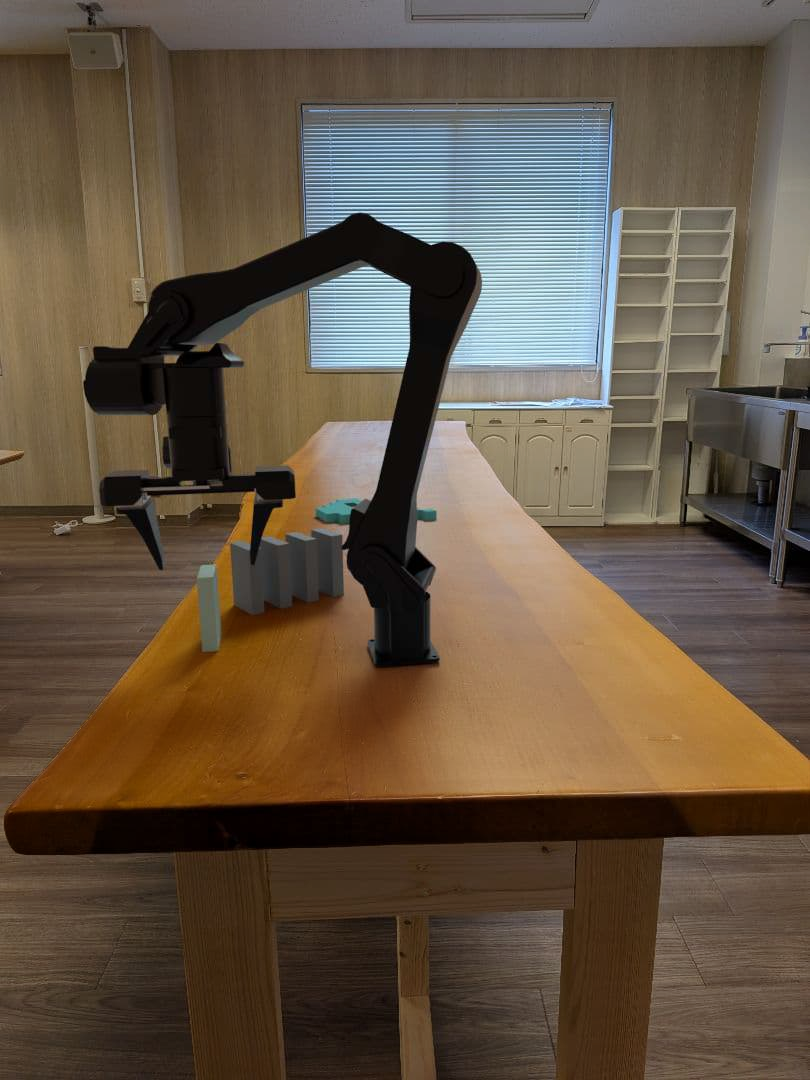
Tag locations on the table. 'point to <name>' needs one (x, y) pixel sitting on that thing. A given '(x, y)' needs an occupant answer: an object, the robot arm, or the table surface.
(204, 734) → the table surface
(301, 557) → the domino
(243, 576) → the domino
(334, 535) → the domino
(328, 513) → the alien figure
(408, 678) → the table surface
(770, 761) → the table surface
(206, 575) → the sage domino
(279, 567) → the domino
